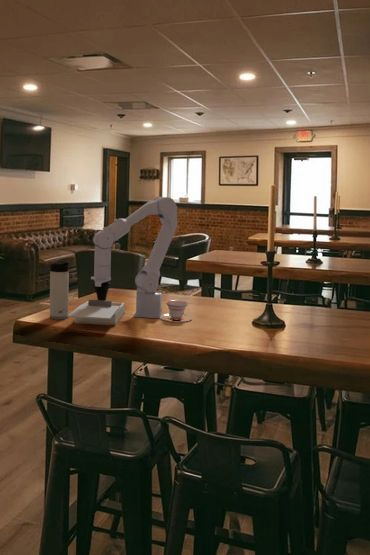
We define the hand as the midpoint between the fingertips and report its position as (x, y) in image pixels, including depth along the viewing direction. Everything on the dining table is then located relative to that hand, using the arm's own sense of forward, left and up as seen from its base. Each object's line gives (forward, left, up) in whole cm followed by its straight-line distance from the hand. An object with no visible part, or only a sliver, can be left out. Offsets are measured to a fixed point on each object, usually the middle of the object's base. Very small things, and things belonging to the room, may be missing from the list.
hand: (101, 303), depth 189 cm
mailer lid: (0, +10, -1) cm, 10 cm away
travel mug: (+14, +4, -6) cm, 16 cm away
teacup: (-26, -5, -6) cm, 27 cm away
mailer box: (0, +1, -5) cm, 5 cm away
